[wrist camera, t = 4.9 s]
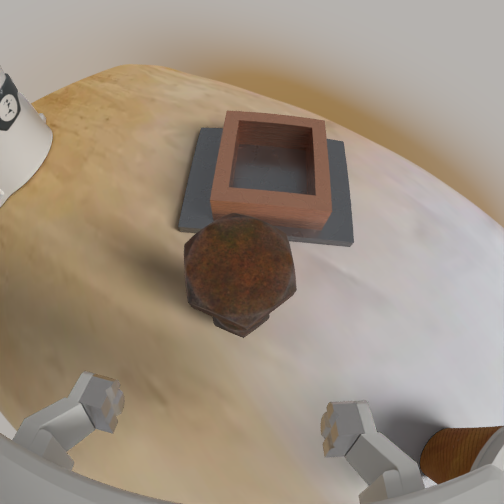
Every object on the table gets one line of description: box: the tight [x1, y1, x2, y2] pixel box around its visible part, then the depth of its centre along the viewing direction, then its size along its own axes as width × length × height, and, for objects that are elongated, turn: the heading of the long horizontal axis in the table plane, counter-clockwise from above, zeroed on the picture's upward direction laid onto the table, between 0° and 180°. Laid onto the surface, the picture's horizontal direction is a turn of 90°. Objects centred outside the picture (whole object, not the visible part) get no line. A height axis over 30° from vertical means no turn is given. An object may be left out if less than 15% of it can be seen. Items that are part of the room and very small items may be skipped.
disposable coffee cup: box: [420, 426, 504, 484], centre depth 16 cm, size 10×10×12 cm
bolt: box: [184, 213, 296, 338], centre depth 21 cm, size 6×5×15 cm
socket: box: [178, 111, 354, 247], centre depth 31 cm, size 18×14×5 cm
